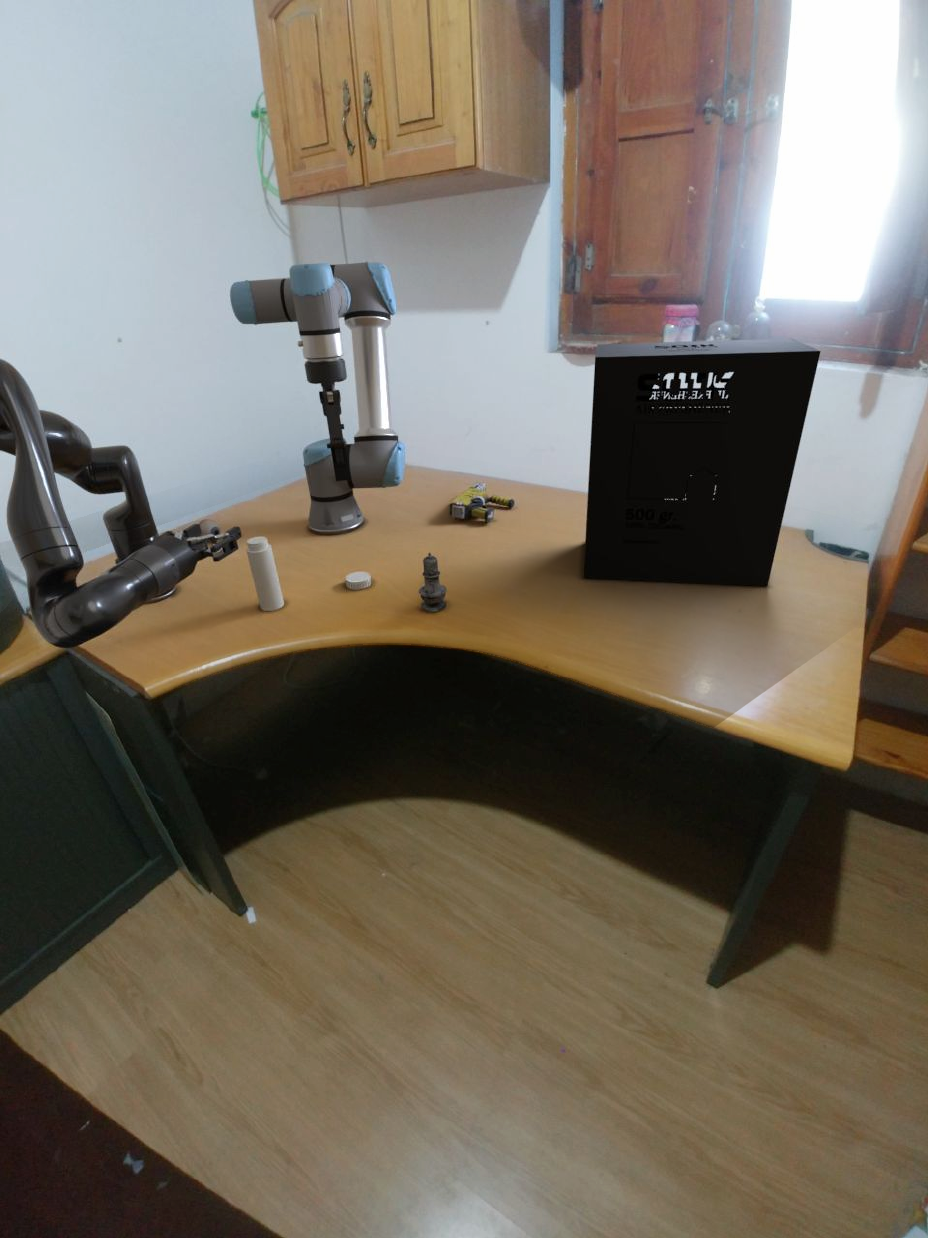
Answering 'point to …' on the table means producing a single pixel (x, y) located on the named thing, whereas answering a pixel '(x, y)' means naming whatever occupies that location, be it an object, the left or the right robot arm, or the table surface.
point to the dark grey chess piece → (432, 586)
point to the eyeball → (209, 528)
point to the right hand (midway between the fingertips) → (341, 470)
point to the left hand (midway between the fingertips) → (218, 529)
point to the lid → (358, 580)
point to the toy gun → (476, 504)
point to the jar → (264, 574)
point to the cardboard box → (693, 458)
